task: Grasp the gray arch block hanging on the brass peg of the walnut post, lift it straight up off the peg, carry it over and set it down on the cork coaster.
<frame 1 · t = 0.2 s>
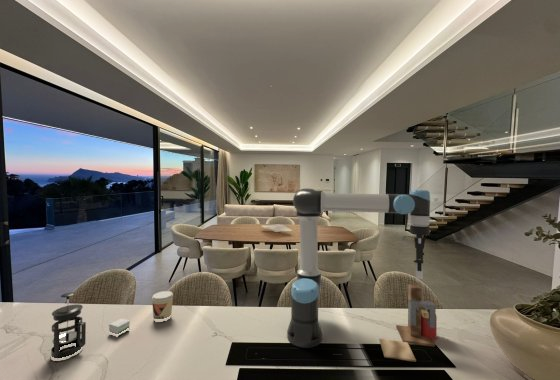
hand: (419, 273, 107), 28 cm above the kitchen island, fingers open, 13 cm apart
coaster: (396, 350, 97), on the kitchen island
stand: (414, 336, 107), on the kitchen island
small box: (119, 333, 107), on the kitchen island
coffee cup: (162, 319, 119), on the kitchen island
gray arch block: (421, 324, 98), point 10 cm above the kitchen island, touching stand
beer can: (427, 336, 107), on the kitchen island, touching stand
french press: (68, 354, 94), on the kitchen island
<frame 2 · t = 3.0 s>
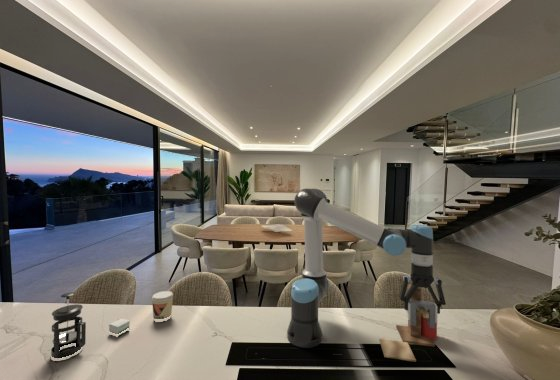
hand: (421, 319, 98), 12 cm above the kitchen island, fingers closed on gray arch block, 9 cm apart
gray arch block: (421, 324, 98), point 10 cm above the kitchen island, touching gripper, stand
everything else where it was.
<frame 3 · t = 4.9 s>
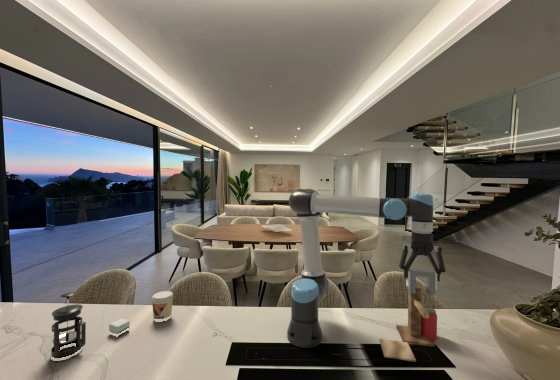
hand: (421, 287, 98), 25 cm above the kitchen island, fingers closed on gray arch block, 9 cm apart
gray arch block: (421, 292, 98), point 23 cm above the kitchen island, touching gripper
everything else where it was.
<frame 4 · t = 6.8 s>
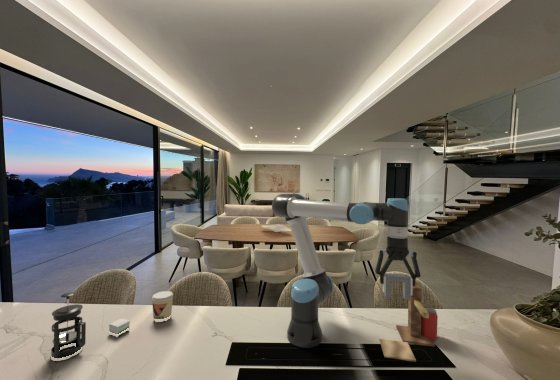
hand: (397, 292, 97), 23 cm above the kitchen island, fingers closed on gray arch block, 9 cm apart
gray arch block: (397, 297, 97), point 21 cm above the kitchen island, touching gripper
everything else where it was.
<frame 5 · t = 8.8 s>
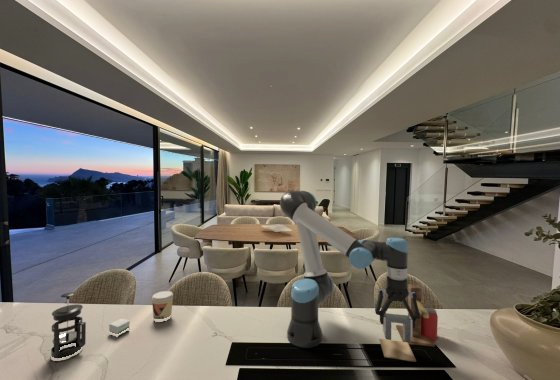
hand: (397, 333, 97), 7 cm above the kitchen island, fingers closed on gray arch block, 9 cm apart
gray arch block: (397, 338, 97), point 5 cm above the kitchen island, touching gripper
everything else where it was.
when the fingers open (3 cm above the kitchen island, at t = 10.5 s): gray arch block stays where it is, resting on coaster.
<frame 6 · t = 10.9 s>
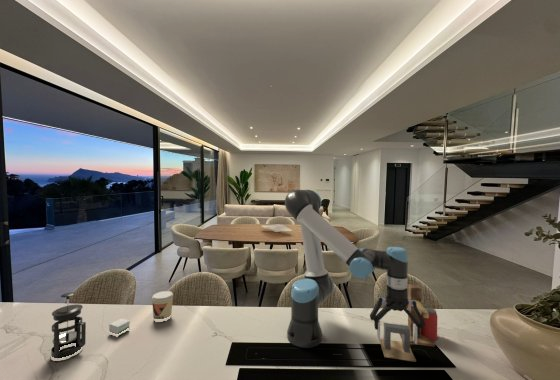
hand: (396, 339, 97), 4 cm above the kitchen island, fingers open, 13 cm apart
gray arch block: (396, 348, 97), point 1 cm above the kitchen island, touching coaster
everything else where it was.
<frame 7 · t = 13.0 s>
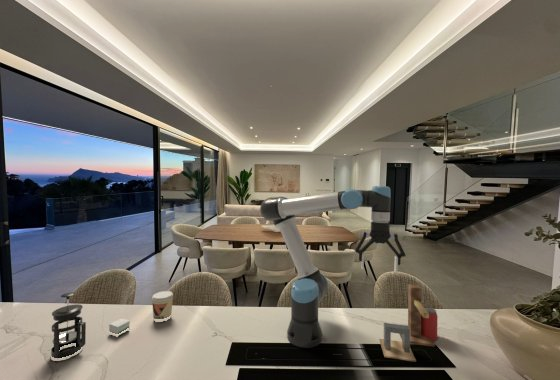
hand: (378, 270, 106), 29 cm above the kitchen island, fingers open, 13 cm apart
nothing on the kitchen island moved.
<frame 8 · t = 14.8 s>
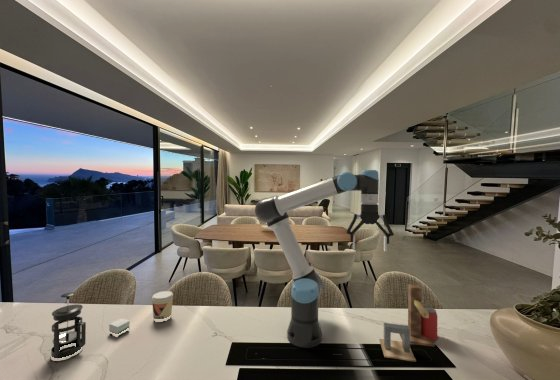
hand: (369, 250, 111), 37 cm above the kitchen island, fingers open, 13 cm apart
nothing on the kitchen island moved.
at the end: gray arch block inside the target area on the coaster (0.0 cm from its centre), point 0.6 cm above the coaster's base; gray arch block touching coaster; the gripper is holding nothing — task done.
